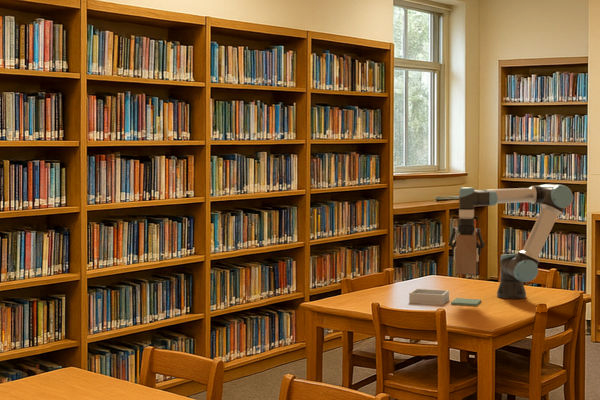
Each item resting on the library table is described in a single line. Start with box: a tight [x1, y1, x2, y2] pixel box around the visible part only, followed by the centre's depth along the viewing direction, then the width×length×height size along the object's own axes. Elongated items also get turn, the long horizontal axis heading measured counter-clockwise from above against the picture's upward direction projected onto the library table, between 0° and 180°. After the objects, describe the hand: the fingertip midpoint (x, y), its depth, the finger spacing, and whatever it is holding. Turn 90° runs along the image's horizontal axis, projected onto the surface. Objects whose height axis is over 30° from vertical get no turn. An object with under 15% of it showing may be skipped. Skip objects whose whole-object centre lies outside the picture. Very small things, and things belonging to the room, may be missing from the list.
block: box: [455, 232, 477, 276], centre depth 424 cm, size 10×10×20 cm
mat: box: [450, 297, 482, 307], centre depth 426 cm, size 13×13×1 cm
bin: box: [408, 288, 450, 306], centre depth 432 cm, size 18×15×5 cm
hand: (466, 260), depth 425 cm, fingers closed on block, 11 cm apart
